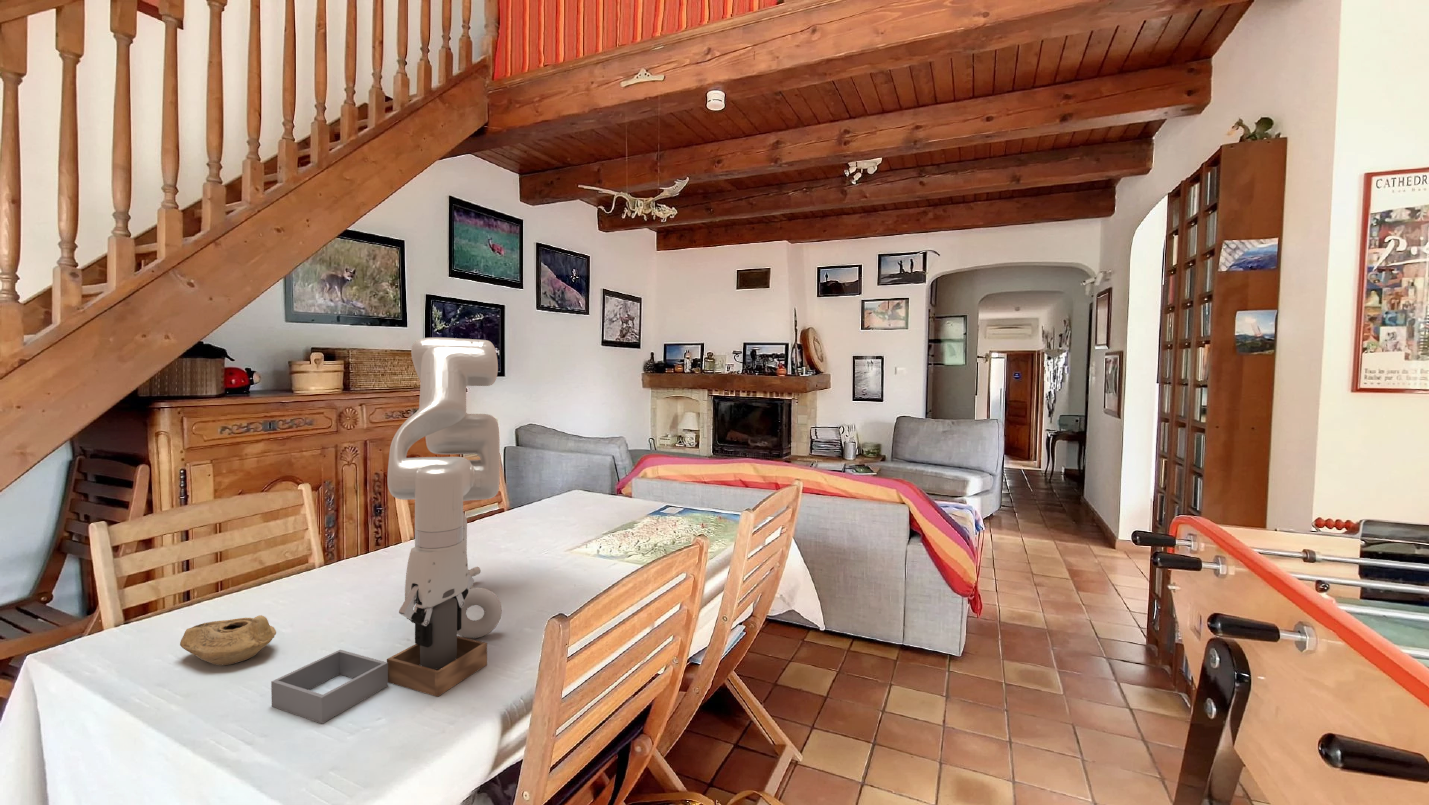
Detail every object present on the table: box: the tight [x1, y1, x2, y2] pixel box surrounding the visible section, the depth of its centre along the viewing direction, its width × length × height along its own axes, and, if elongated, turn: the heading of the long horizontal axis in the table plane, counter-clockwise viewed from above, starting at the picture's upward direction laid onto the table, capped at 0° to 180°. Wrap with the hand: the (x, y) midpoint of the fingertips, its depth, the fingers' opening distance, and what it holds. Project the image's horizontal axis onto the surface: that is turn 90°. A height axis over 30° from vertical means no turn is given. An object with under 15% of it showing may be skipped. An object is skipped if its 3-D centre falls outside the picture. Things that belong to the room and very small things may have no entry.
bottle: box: [420, 589, 458, 670], centre depth 101 cm, size 6×6×15 cm
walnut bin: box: [386, 635, 488, 697], centre depth 101 cm, size 11×11×4 cm
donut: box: [457, 587, 503, 639], centre depth 114 cm, size 10×4×10 cm, turn 106°
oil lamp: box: [179, 614, 277, 666], centre depth 103 cm, size 11×15×8 cm
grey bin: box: [270, 649, 389, 725], centre depth 93 cm, size 11×11×4 cm
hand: (438, 635), depth 101 cm, fingers closed on bottle, 5 cm apart
